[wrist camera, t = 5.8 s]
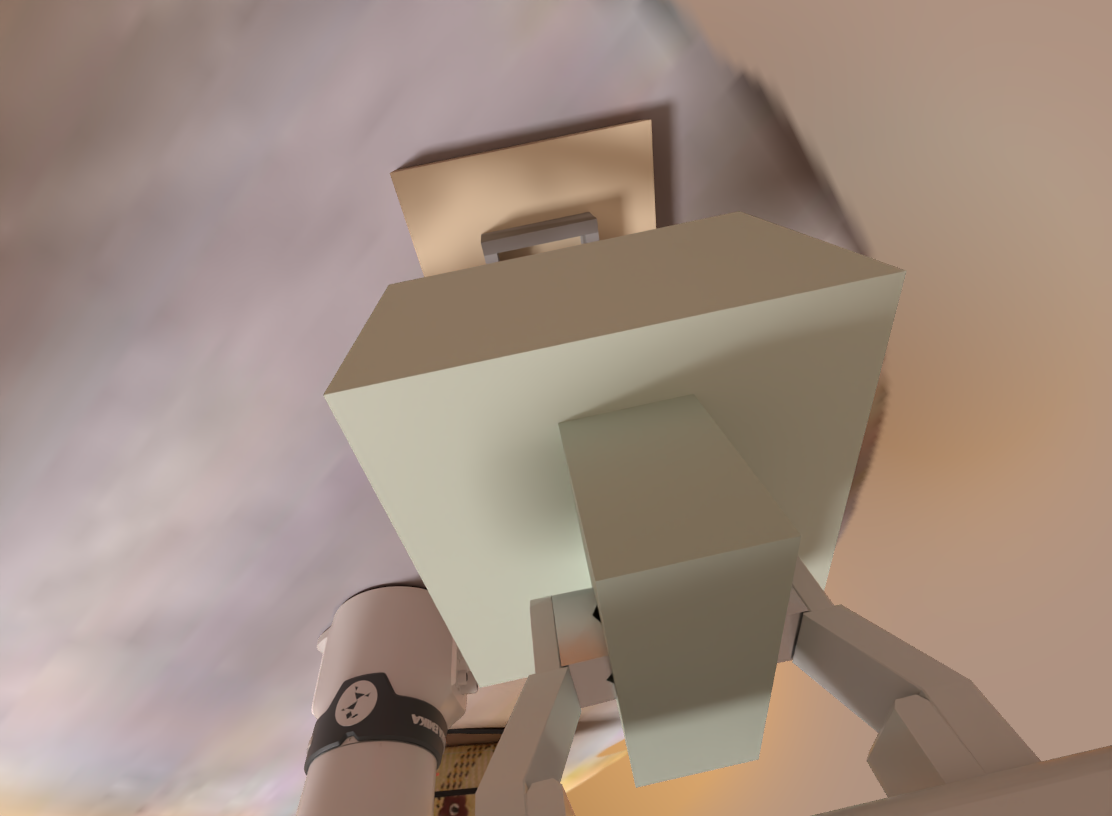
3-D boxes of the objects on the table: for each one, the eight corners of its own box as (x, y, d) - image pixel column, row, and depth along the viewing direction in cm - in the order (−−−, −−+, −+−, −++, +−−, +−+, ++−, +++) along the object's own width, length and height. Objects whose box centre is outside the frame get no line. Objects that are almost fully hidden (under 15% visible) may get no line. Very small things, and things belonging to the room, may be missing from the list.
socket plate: (653, 344, 38) (672, 369, 34) (465, 384, 37) (462, 414, 34) (641, 119, 29) (664, 119, 25) (395, 169, 29) (381, 177, 25)
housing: (726, 475, 21) (912, 750, 12) (481, 528, 21) (478, 850, 12) (739, 211, 15) (1161, 361, 6) (388, 284, 15) (220, 566, 5)
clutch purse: (555, 721, 71) (570, 849, 59) (549, 741, 75) (562, 867, 62) (354, 735, 66) (323, 880, 53) (358, 757, 69) (330, 898, 57)
